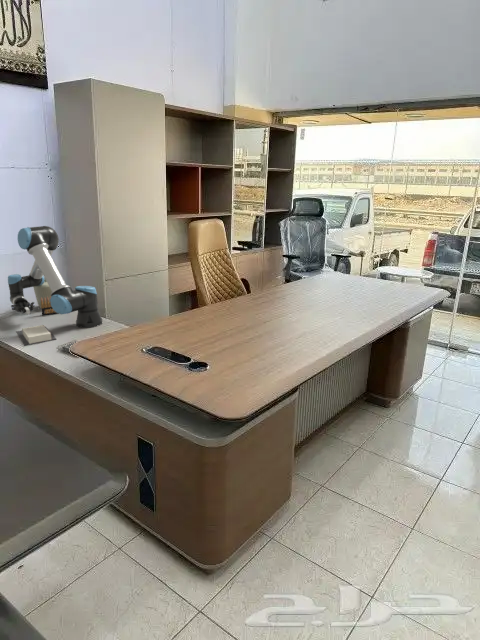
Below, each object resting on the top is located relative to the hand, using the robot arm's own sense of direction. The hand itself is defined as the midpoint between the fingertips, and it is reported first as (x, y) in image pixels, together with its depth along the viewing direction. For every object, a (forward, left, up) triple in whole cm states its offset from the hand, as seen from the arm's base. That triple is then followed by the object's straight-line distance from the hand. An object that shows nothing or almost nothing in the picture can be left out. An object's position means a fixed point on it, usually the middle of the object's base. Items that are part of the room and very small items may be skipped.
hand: (28, 312), depth 249 cm
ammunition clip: (+16, -29, -11) cm, 35 cm away
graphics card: (-48, +14, -12) cm, 51 cm away
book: (-6, +3, -9) cm, 11 cm away
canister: (+30, -41, -11) cm, 52 cm away
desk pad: (-10, +6, -11) cm, 16 cm away
